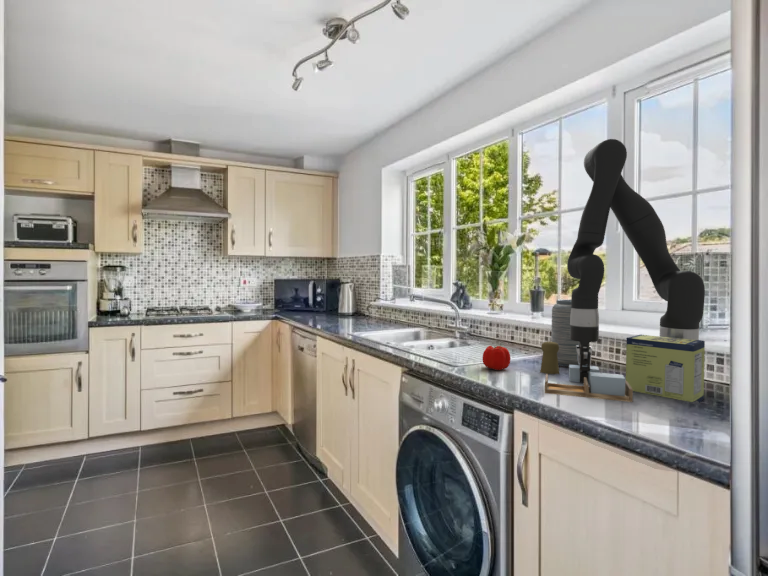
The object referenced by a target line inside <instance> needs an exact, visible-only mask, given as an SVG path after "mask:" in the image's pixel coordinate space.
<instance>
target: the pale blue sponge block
mask: <svg viewBox="0 0 768 576" xmlns="http://www.w3.org/2000/svg"><path fill="white" fill-rule="evenodd" d="M625 381H626V376H624V374H617V373H605V372H599V373H595V372H590V383H589V387H590V393H596V394H607V395H617V396H625Z"/></svg>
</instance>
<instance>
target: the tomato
mask: <svg viewBox="0 0 768 576" xmlns="http://www.w3.org/2000/svg"><path fill="white" fill-rule="evenodd" d="M482 364H483V365H484V366H485V367H486V368H487V369H489V370H491V369H493V370H494V371H501V370H505V369H507V368H508V367H509V366H510V364H511V353H510V351H509V350H508V348H506V347H503V346H501V345H496V346H494V347H493V346H492V345H488V346H487V347H486V349H485V350H483V353H482Z"/></svg>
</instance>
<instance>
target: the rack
mask: <svg viewBox="0 0 768 576" xmlns="http://www.w3.org/2000/svg"><path fill="white" fill-rule="evenodd" d="M544 376H545V380H544V394H550V395H559V396H567V397H568V396H569V397H570V396H571V397H579V398H589V399H596V400H597V399H600V400H608V401H609V400H610V401H619V402H628V403H630V402H631V403H633V397H634V396H633V394H634V393H633V392H634V391H633V389H632V388H631V386H630V385H629V383H628V382H627V381H626V380H625V396H617V395H607V394H596V393H590V384H589V383H588V381H587V378H586V377H584V383H583V385H578V384H577V385H574V384H563V383H556V382H555V383H552V382H549V374H547V373H545V375H544Z"/></svg>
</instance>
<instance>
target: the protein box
mask: <svg viewBox="0 0 768 576" xmlns="http://www.w3.org/2000/svg"><path fill="white" fill-rule="evenodd" d="M705 343H706V341H705V340H701V339H699V340H692V339H681V338H670V337H660V335H659V336H658V335H649V334H636V335H633V336H628V337H626V343H625V344H626V348H625V349H626V350H625V356H626V357H625V381H627V382H628V383H629V385H630V386H631V388H632V389H633V392H637V393H642V394H647V395H652V396H658V397H663V398H667V399H674V400H679V401H684V402H690V403H693V402H696V401H697V403H699V404H701V402H702V400H703V399H705V393H704V392H705V391H704V388H705V387H704V386H705V385H704V383H705V350H706V346H705ZM703 401H704V400H703Z"/></svg>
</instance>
